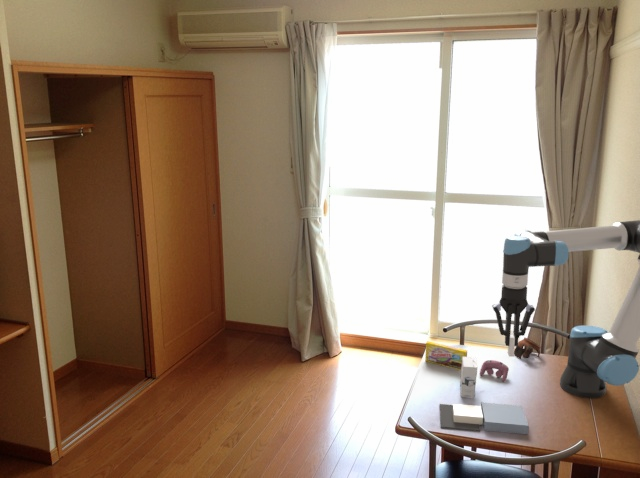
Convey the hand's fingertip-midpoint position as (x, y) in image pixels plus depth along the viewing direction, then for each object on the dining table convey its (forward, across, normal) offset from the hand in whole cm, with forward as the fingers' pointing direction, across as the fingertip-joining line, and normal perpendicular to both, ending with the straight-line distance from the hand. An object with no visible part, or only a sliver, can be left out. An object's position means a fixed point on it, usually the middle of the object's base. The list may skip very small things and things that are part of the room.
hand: (510, 354), depth 185 cm
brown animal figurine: (+22, +15, +45) cm, 53 cm away
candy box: (+21, -18, +33) cm, 43 cm away
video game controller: (+21, 0, +26) cm, 33 cm away
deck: (+21, -2, -6) cm, 22 cm away
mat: (+21, -16, -5) cm, 27 cm away
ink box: (+21, -12, +12) cm, 27 cm away
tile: (+20, -14, -6) cm, 25 cm away
